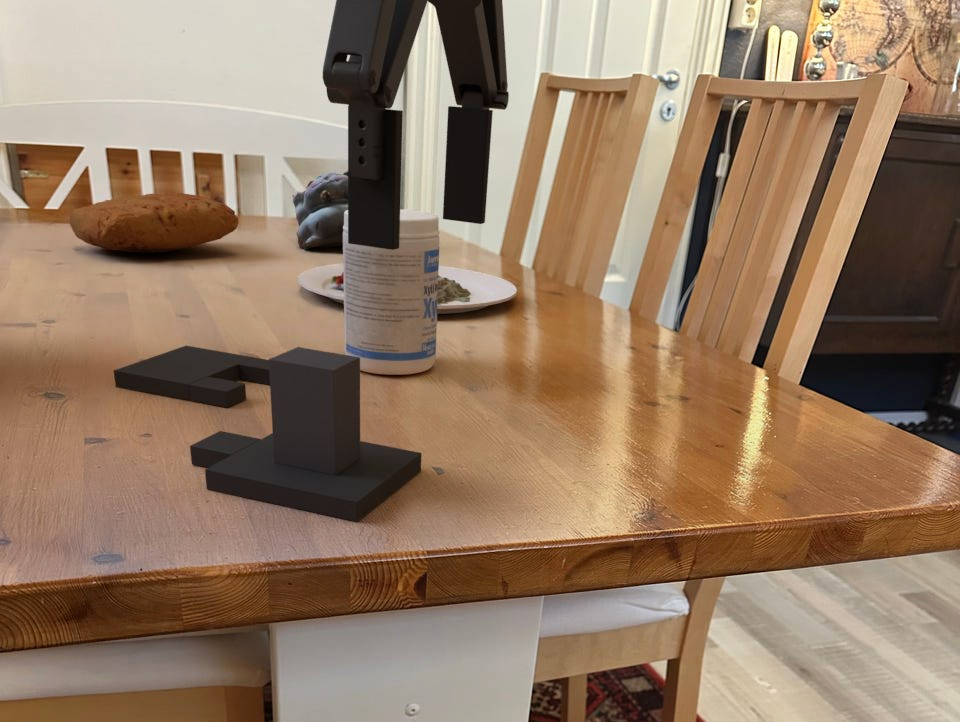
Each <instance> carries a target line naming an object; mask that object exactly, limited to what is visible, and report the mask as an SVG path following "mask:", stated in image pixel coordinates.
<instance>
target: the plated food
mask: <svg viewBox="0 0 960 722" xmlns="http://www.w3.org/2000/svg"><path fill="white" fill-rule="evenodd" d="M297 283H299V285H300V286H301V287H302V288H304V289H306V290H308V291H309V292H312V293H315V294H318V295H321V296H324V297H327V298H328V299H329V300H332V301H334V302H337V303H339V304H343V305H344V274H343V262H341V263H334V264H325V265H320V266H316V267H312V268H309V269H306V270H304V271H303V272H301V273H299V275H298V277H297ZM517 292H518V289H517V287H516V285H515V284H514V283H512V282H510V281H509V280H507V279H504V278H502V277H499V276H496V275H493V274H490V273H489V274H488V273H484V272H480V271H476V270H471V269H465V268H460V267H459V268H458V267H453V266H446V265H439V272H438V301H437V315H446V314H448V315H449V314H459V313H468V312H472V311H473V312H474V311H478V310H481V309H484V308H487V307H488V306H492V305H497V304H502V303H504V302H507V301H511V300H512V299H513V298H515V297H516V295H517Z"/></svg>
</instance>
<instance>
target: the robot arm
mask: <svg viewBox="0 0 960 722" xmlns="http://www.w3.org/2000/svg"><path fill="white" fill-rule="evenodd" d="M428 3H430V5H432V6H433V7H434V9H435V13H436V17H437V21H438V27H439V31H440V35H441V41H442V44H443V45H442V46H443V48H444V50H443V51H444V54H445V58H446V63H447V68H448V73H449V77H450V82H451V87H452V92H453V97H454V101H455V103H456V105H457V106H453V105H449V106H448V107H447V124H446V144H445V145H446V146H445V165H444V166H445V167H444V186H443V208H442V220H448V221H455V222H462V223H469V224H477V225H483V224H485V223H486V210H487V196H488V184H489V183H488V181H489V169H490V168H489V167H490V156H491V142H492V141H491V140H492V125H493V111H494V110H506V109H507V107H508V105H509V98H510V96H509V95H510V93H509V91H508V88H509V87H508V85H509V84H508V71H507V57H506V56H507V54H506V38H505V23H504V22H505V21H504V20H505V19H504V6H503V0H335V5H334V9H333V10H334V11H333V15H332V20H331V25H330V30H329V36H328V41H327V46H326V49H325V55H324V61H323V66H322V81H323V85H324V86H325V88H326V96H327V99H328V101H329V102H330V104H337V105H338V104H339V105H347V171H348V243H349V244H356V245H363V246H370V247H376V248H383V249H390V250H395V249H398V248H399V236H400V209H401V196H402V193H401V192H402V191H401V190H402V157H403V156H402V154H403V122H404V121H403V118H404V116H403V115H404V111H403V110H400V109H391V108H393V105H394V103H395V100H396V97H397V94H398V90H399V88H400V85H401V82H402V79H403V75H404V73H405V71H406V70H405V69H406V67H407V64H408V61H409V58H410V56H411V52H412V49H413V46H414V43H415V41H416V37H417V34H418V31H419V28H420V25H421V22H422V19H423V16H424V13H425V10H426V7H427V4H428ZM348 56H349V57H348Z"/></svg>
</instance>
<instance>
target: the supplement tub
mask: <svg viewBox="0 0 960 722" xmlns="http://www.w3.org/2000/svg"><path fill="white" fill-rule="evenodd" d="M439 228H440V227H439V216H438V215H437V214H434V213H431V212H427V211H420V210H412V209H404V208H403V209H401V208H400V236H399V248H398V249H395V250H390V249H383V248H376V247H370V246H363V245H356V244H349V243H348V210H346V211H345V212H344V226H343V230H344V231H343V245H342V263H343V274H344V304H343V315H344V316H343V319H344V320H343V322H344V323H343V325H344V327H343V328H344V355H348V356H354V357H360V372H365V373H369V374H375V375H384V376H385V375H386V376H398V375H399V376H403V375H414V374H418V373H422V372H426V371H428V370H429V369H431V368H432V367H433V366H434V364H435V362H436V359H437V358H436V357H437V356H436V355H437V329H438V328H437V327H438V314H437V301H438V272H439V266H440V230H439Z"/></svg>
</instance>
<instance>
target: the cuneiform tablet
mask: <svg viewBox="0 0 960 722" xmlns="http://www.w3.org/2000/svg"><path fill="white" fill-rule="evenodd" d="M69 225H70V228H71V229H72V232H73V233H74V235H75V237H76V238H77V239H79V240H81V241H83V242H84V243H86V244H88V245H90V246H93V247H96V248H101V249H104V250H110V251H119V252H120V251H121V252H127V253H143V254H144V253H145V254H151V253H152V254H155V253H166V252H172V251H178V250H184V249H188V248H192V247H196V246H199V245H203V244H207V243H211V242H215V241H218V240H221V239H223V238H224V237H226V236H227V235H230V234H231V233H233V232H234V231H236V230H237V228H238V226H239V217H238V216H237V214H236V211H235V210H234V209H232V208H231V207H230V206H228V205H227V204H225V203H223V202H219V201H217V200H215V199H212V198H209V197H204V196H201V195H196V194H189V193H183V192H165V193H146V194H142V195H134V196H133V195H132V196H122V197H116V198H111V199H106V200H104V201H99V202H95V203H93V204H90V205H88V206H81V207H77V208H74V209H72V211H71V212H70V213H69Z"/></svg>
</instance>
